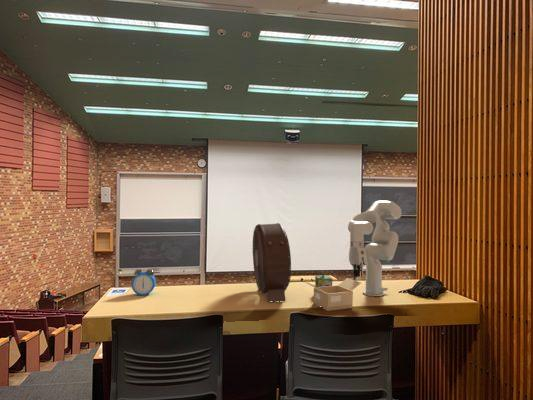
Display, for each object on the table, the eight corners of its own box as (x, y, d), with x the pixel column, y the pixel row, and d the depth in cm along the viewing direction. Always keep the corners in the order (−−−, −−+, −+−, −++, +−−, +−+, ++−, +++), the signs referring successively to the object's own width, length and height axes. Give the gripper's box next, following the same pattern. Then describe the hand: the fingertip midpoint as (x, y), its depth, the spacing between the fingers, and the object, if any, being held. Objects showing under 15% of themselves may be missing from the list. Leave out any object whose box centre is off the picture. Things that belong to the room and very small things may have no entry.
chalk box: (332, 298, 208) (333, 273, 208) (317, 298, 207) (317, 273, 208) (329, 294, 217) (329, 270, 217) (314, 293, 217) (315, 270, 217)
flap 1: (304, 281, 193) (304, 281, 193) (316, 286, 181) (316, 287, 181) (314, 286, 195) (314, 287, 195) (326, 292, 183) (326, 292, 183)
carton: (337, 300, 202) (337, 285, 202) (353, 308, 189) (353, 291, 189) (313, 303, 196) (313, 287, 196) (327, 311, 182) (327, 294, 182)
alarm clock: (130, 296, 204) (131, 270, 204) (133, 293, 210) (133, 268, 210) (154, 295, 206) (154, 270, 206) (155, 292, 212) (156, 268, 212)
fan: (292, 304, 194) (294, 225, 194) (261, 305, 191) (262, 225, 191) (276, 286, 235) (277, 221, 235) (250, 286, 231) (251, 221, 231)
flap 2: (338, 284, 201) (338, 285, 201) (352, 289, 190) (352, 290, 190) (347, 277, 204) (347, 278, 204) (361, 282, 192) (361, 283, 192)
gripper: (370, 245, 193) (370, 278, 193) (354, 242, 207) (354, 273, 207) (359, 246, 190) (359, 280, 191) (343, 242, 204) (343, 274, 204)
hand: (356, 276), depth 199 cm, fingers closed
